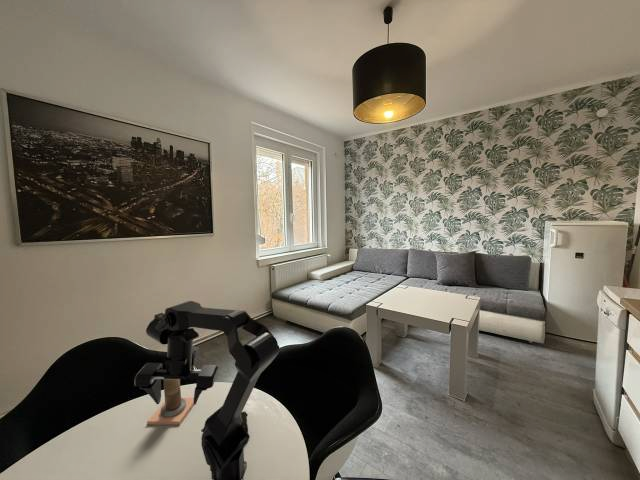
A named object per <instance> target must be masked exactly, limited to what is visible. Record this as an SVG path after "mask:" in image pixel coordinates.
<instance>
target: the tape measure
mask: <svg viewBox="0 0 640 480" xmlns="http://www.w3.org/2000/svg"><path fill="white" fill-rule="evenodd" d="M248 414H249V413H247V411H242V413H241V415H240V417H241V418H242V424H243V426H244V428H245V429H246V431H247V432H248V433H249V427H248V426H249V425H248V416H249V415H248Z"/></svg>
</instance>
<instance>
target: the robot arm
mask: <svg viewBox="0 0 640 480" xmlns="http://www.w3.org/2000/svg"><path fill="white" fill-rule="evenodd" d="M194 328H196V329H205V330H210V331H216V332H217V331H219V332H223V333H224V334H225V336H226V338H227V347H228V352H229V354H230V355H231V356H232V358H233V359H234V366H235V368H236V371H237V372H236V374H235V377H234V378H233V380H232V381H233V382H232V384H231V385H230V388H229V391H228V393H227V395H226V397H225V400H224V401H223V404H222V406H220V407H219V408H218V409H217V410H216V411H214V412H213V413H211V415H210V416H208V417H206V420H205V422H204V426H203V428H202V429H201V432H202V434H201V444H200V445H201V448H202V449H201V450H202V453H203V456H204V460H205V462H206V464H207V465H208V466H209V471H210V472H211V480H241V479H242V480H243V478H244V475H245V471H246V469H247V461H245V454H244V452H245V450H244V447H245V446H246V445H247V444H248V443H249V441H250V437H251V435H249V431H248V432H247V431H246V429H245V428H244V426H243V424H242V418H241V417H240V415H241V413H242V412H244V409H245V406H246V404H247V402H248V400H249V398H250V396H251V394H252V392H253V389H254V388H255V385H256V383H257V382H258V379H259V378H260V376H261V374H262V373H263V372H264V371H265V370H266V368H267V367H268V366H269V365H270V364H271V363H272V362H273V361H274V360H275V358H276V357H277V356H278V354H279V352H280V345H279V344H278V340H277V338H276V337H275V336H274V335H273V333H272V332H271V330H269V329H268V327H266V325H265V324H263V323H262V322H260V321H257V320H256V319H253V318H252V317H251V316H250V315H249V314H248V312H247V311H246V310H245V309H236V310H235V309H227V308H226V309H225V308H212V307H203V306H202V305H201V303H199V302H196V301H194V300H188V301H185V302H182V303H179V304H176V305H172V306H169V307H166V308H165V309H164V313H163V312H160V313H157V314H154V318H153V319H152V320H151V321H150V322H149V324H148V325H147V327H146V330H145V333H146V335H147V336H148V337H149V338H151V339H153V340H155V341H156V342H158V343H159V344H161V345H167V347H166V348H167V349H166V351H167V352H166V358H165V359H164V362H163V363H164V365H166V367H165V368H166V369H163V363H162V362H146V363H145V364H144V365H143V366H142V367H141V368H140V370H139V371H138V372H137V373H136V374H135V376H134V380H133V385H134V387H139V389H140V390H143V391H145V392H146V394H148V395H149V396H150V398H151V399H152V400H153V402H155V404H156V405H159V404H160V402H161V400H162V380H163V379H175V380H180V381H181V380H186V379H191V380H196V383H195V384H196V386H195V388H194V394H193V398H194V406H195V405H197V402H198V401H199V398H200V395H201V394H202V393H203V392H205V391H207V390H208V389H211V388H213V387H214V384H215V382H216V379H217V377H218V374H219V367H218V365H217V364H216V365H215V364H203V366H201V369H192V367H195V365H196V360H198V357H199V352H200V346H193V344H194V343H193V342H194V340H195V339H196V338H199V337H200V335H199V334H200V333H198V332H197V331H196V330H195V329H194ZM240 329H241V330H244V331H246V332H247V333H249V334H252V335H254V336H256V337H254V338H253V339H251V340H249V341H248V342H246V343H244V344H243V343H242V342H241V341H240V338H239V333H238V331H239V330H240ZM242 477H243V478H242Z"/></svg>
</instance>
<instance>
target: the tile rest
mask: <svg viewBox="0 0 640 480" xmlns="http://www.w3.org/2000/svg"><path fill="white" fill-rule="evenodd" d="M181 398H182V399H185V400H186V407H185V409H184V410H183V411H182V412H181V413H180V414H178V415H176V416H174V417H170V418H165V417H162V416H161V408H162V407H163V405H164V404H165V401H163V403H162V404H161V405H160V406H159V407H158V409H156V411H155V412H154V413H153V414H152V415H151V416H150V418H149V419H147V421H146V425H150V426H151V425H159V426H161V425H163V426H165V425H170V426H171V425H175V426H176V425H177V426H178V425H181V424H182V422H184V419H185V418H186V417H187V415H188V414H189V412H190V411H191V410H192V408H193V407H194V406H195V405H194V397H181Z"/></svg>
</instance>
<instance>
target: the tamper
mask: <svg viewBox="0 0 640 480" xmlns="http://www.w3.org/2000/svg"><path fill="white" fill-rule="evenodd" d="M162 380H163V381H162V382H163V392H164V402H165V404H164V405H163V407H162V408H161V416H162V417H165V418H170V417H174V416H176V415H178V414H180V413H181V412H182V411H183V410H184V409H185V407H186V400H185V399H182V398H183V397H182V393H181V379H180V380H175V379H162Z"/></svg>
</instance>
